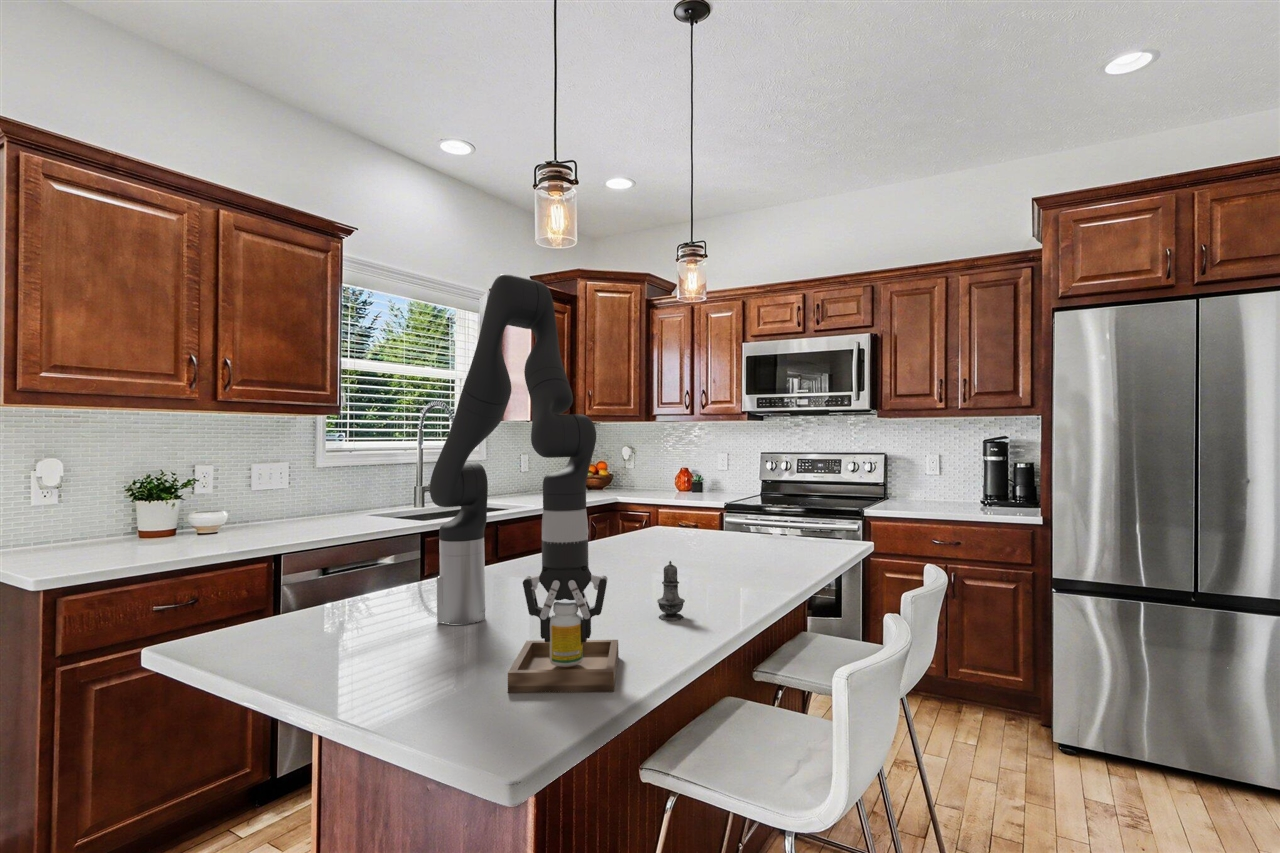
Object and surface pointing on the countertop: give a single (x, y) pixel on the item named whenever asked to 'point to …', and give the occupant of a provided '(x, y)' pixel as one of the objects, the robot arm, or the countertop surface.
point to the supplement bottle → (565, 634)
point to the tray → (564, 669)
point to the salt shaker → (670, 595)
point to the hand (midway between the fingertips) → (566, 640)
